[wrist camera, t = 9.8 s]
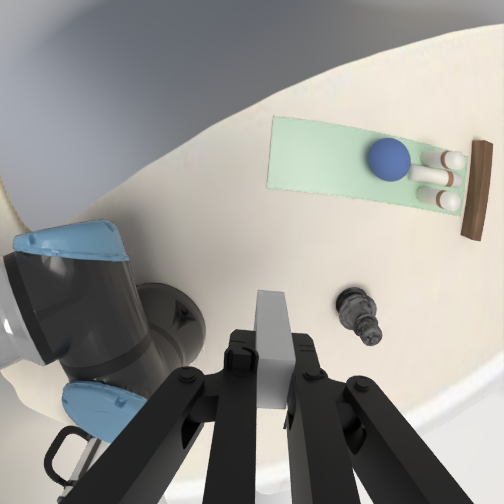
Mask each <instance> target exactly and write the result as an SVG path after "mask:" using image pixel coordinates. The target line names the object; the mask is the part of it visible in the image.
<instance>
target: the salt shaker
mask: <svg viewBox="0 0 504 504" xmlns="http://www.w3.org/2000/svg"><path fill="white" fill-rule="evenodd" d="M336 309H337V311H338V313H339V319H340V322H341V324H342V325H343V326H344V327H345V328H347V329H349V330H354V332H355V334H356V335H357V336H360V338H361V340H362V341H363V343H364V344H365V345H367V346H374V345H376V344H378V343H379V342H380V341H381V339H382V331H381V329H380V328H379V326H378V320H377V318H376V317H375V315H376V310H377V308H376V304H375V302H374V300H373V299H372V298H371V297H369V296H367V295H366V293H365V292H364V291H363V290H362V289H360V288H356V287H353V288H348V289H346V290H344V291H343V292H342V293H341V294H340V295H339V297H338V298H337V301H336Z"/></svg>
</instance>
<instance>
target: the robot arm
mask: <svg viewBox="0 0 504 504" xmlns="http://www.w3.org/2000/svg"><path fill="white" fill-rule="evenodd" d="M13 249H14V250H16V251H15V252H13V253H10V254H8V255H5V256H3V257H1V258H0V370H2V369H4V368H6V367H8V366H10V365H12V364H14V363H16V362H18V361H20V360H22V359H25V360H29V361H32V362H34V363H37V364H39V365H42V366H45V365H48V364H50V363H52V362H54V361H56V360H59V362H60V364H61V365H62V367H63V369H64V371H65V373H66V375H67V377H68V379H69V383H67V384H66V385H65V387H64V388H63V396H62V404H63V407H64V409H65V411H66V413H67V414H68V416H69V417H70V418H71V419H72V420H73V421H74V422H75V423H76V424H77V425H78V426H79V427H80V428H82V429H83V430H84V431H86V432H87V433H89V434H90V435H92V436H94V437H96V438H98V439H100V440H102V441H105V442H107V443H110V445H109V447H108V448H107V449H106V450H105V451H104V452H103V454H102V455H101V456H100V457H99V458H98V459H97V460H96V462H95V463H94V464H93V465H92V466H91V467H90V469H89V470H88V471H87V472H86V473H85V474H84V475H83V477H82V478H81V479H80V480H79V481H78V482H77V483H76V485H75V486H74V487H73V488H72V489H71V490H70V491H69V493H68V494H67V495H66V496H65V497H64V498H63V499H62V501H61V502H60V503H59V504H157V503H158V502H159V500H160V499H161V497H162V495H163V494H164V492H165V490H166V489H167V487H168V486H169V484H170V482H171V481H172V479H173V477H174V476H175V474H176V472H177V471H178V469H179V467H180V466H181V464H182V462H183V461H184V459H185V457H186V456H187V454H188V452H189V450H190V449H191V447H192V445H193V444H194V442H195V440H196V438H197V437H198V435H199V433H200V432H201V430H202V428H203V426H204V423H205V422H214V421H215V425H214V431H213V438H212V444H211V450H210V457H209V463H208V470H207V476H206V483H205V489H204V496H203V502H202V504H255V473H256V414H257V408H268V409H286V404H287V406H288V410H287V415H286V419H285V423H284V427H283V429H286V426H287V438H288V451H289V465H290V479H291V494H292V504H361V503H360V499H359V494H358V490H357V486H356V481H355V477H354V473H353V469H354V471H355V472H356V474H357V476H358V478H359V479H360V481H361V483H362V484H363V486H364V488H365V490H366V491H367V493H368V495H369V496H370V498H371V500H372V502H373V503H374V504H474V503H473V502H472V501H471V499H470V498H469V497H468V496H467V494H466V493H465V492H464V491H463V490H462V488H461V487H460V486H459V485H458V483H457V482H456V481H455V480H454V478H453V477H452V476H451V474H450V473H449V472H448V471H447V469H446V468H445V467H444V466H443V465H442V463H441V462H440V461H439V460H438V459H437V457H436V456H435V455H434V454H433V452H432V451H431V450H430V449H429V447H428V446H427V445H426V444H425V442H424V441H423V440H422V439H421V437H420V436H419V435H418V434H417V433H416V431H415V430H414V429H413V428H412V426H411V425H410V424H409V423H408V422H407V420H406V419H405V418H404V417H403V416H402V414H401V413H400V412H399V411H398V409H397V408H396V407H395V406H394V405H393V403H392V402H391V401H390V400H389V399H388V397H387V396H386V395H385V394H384V392H383V391H382V390H381V389H380V388H379V386H378V385H377V384H376V383H375V382H374V381H373V380H372V379H370V378H368V377H365V376H353V377H350V378H349V379H348V380H347V382H346V383H344V382H339V381H335V380H332V379H330V378H328V375H327V373H326V371H324V370H323V369H322V368H320V364H319V361H318V357H317V353H316V350H315V347H314V342H313V339H312V338H311V337H310V336H309V335H308V334H302V333H291V329H290V323H289V317H288V312H287V306H286V300H285V295H284V292H276V291H264V290H258V293H257V303H256V312H255V322H254V331H249V330H238V329H235V330H234V331H233V332H232V333H231V334H230V340H229V347H228V348H227V349H226V351H225V352H224V368H223V369H222V370H221V371H220V372H217V373H215V374H210V375H204V374H203V372H202V371H201V370H199V369H197V368H195V367H190V366H188V365H189V364H190V363H191V362H193V361H194V360H195V359H196V358H197V356H198V355H199V353H200V351H201V349H202V346H203V343H204V339H205V332H206V331H205V323H204V319H203V316H202V314H201V312H200V310H199V309H198V307H197V306H196V304H195V303H194V302H193V301H192V300H191V299H190V298H189V297H188V296H187V295H185V294H184V293H182V292H181V291H179V290H177V289H175V288H173V287H171V286H168V285H164V284H159V283H148V284H143V285H139V286H137V287H136V285H135V281H134V278H133V274H132V271H131V267H130V264H129V260H130V258H129V256H128V255H127V254H126V251H125V248H124V246H123V243H122V240H121V236H120V233H119V230H118V228H117V227H116V225H115V224H113V223H112V222H111V221H108V220H104V219H100V220H92V221H86V222H80V223H74V224H69V225H63V226H58V227H53V228H48V229H43V230H38V231H34V232H29V233H25V234H20V235H17V236H15V238H14V240H13ZM352 467H353V469H352Z"/></svg>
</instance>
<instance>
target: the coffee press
mask: <svg viewBox="0 0 504 504" xmlns="http://www.w3.org/2000/svg"><path fill="white" fill-rule="evenodd" d="M69 434H77V435H79V436H81V437H82V438H84V439H85V440H87V441H88V444H87V446H86V448H85V450H84V452H83V454H82V456H81V458H80V460H79V461H78V463H77V465H76V467H75V469H74V471H73V473H72V475H71V477H70V479H69V480H68V481H66V480H64V479H62V478H61V477H60V476H59V475H58V474H56V473H55V471H54V470H53V468H52V460H53V458H54V456H55V454H56V453H57V451H58V449H59V447H60V446H61V444H62V442H63V440H64V439H65V438H66V436H67V435H69ZM109 445H110V443H107V442H105V441H102V440H100V439H98V438H96V437H94V436H92V435H90V434H89V433H87V432H86V431H84V430H83V429H81V428H79V427H76V426H66V427H64V428H63V429H62V430H61V431H60V432H59V433H58V435H57V436H56V438H55V439H54V441H53V443H52V444H51V446H50V448H49V450H48V451H47V453H46V455H45V458H44V468H45V471H46V473H47V475H48V476H49V477H50V478H51V479H52V480H53V481H55V482H56V483H59V484H60V485H62V486H63V487H64V491H63V493H62V495H61V496H59V497H58V499H57V502H58V504H59V503H60V502H61V501H62V499H63V498H64V497H65V496H66V495H67V494H68V493H69V491H70V490H71V489H72V488H73V487H74V486H75V485H76V483H77V482H78V481H79V480H80V479H81V478H82V477H83V475H84V474H85V473H86V472H87V471H88V470H89V469H90V467H91V466H92V465H93V464H94V463H95V462H96V460H97V459H98V458H99V457H100V456H101V455H102V454H103V452H104V451H105V450H106V449H107V448H108V447H109Z"/></svg>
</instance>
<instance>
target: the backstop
mask: <svg viewBox="0 0 504 504" xmlns="http://www.w3.org/2000/svg"><path fill="white" fill-rule="evenodd" d="M492 154H493V144H492V143H490V142H488V141H485V140H482V141H472V156H471V167H470V177H469V186H468V194H467V201H466V207H465V214H464V219H463V225H462V230H461V235H463V236H465V237H467V238H469V239H471V240H476V241H481V236H482V231H483V226H484V220H485V214H486V208H487V202H488V194H489V186H490V177H491V167H492Z"/></svg>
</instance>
